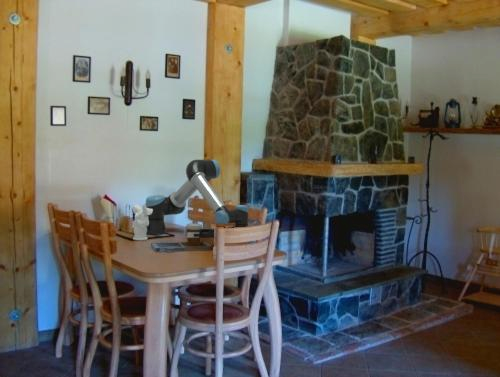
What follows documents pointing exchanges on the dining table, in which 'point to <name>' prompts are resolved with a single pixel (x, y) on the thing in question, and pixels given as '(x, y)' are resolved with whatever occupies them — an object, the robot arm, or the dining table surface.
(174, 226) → the dining table surface
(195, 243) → the disposable coffee cup
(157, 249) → the two-bay frame
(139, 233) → the cherub figurine
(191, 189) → the robot arm
